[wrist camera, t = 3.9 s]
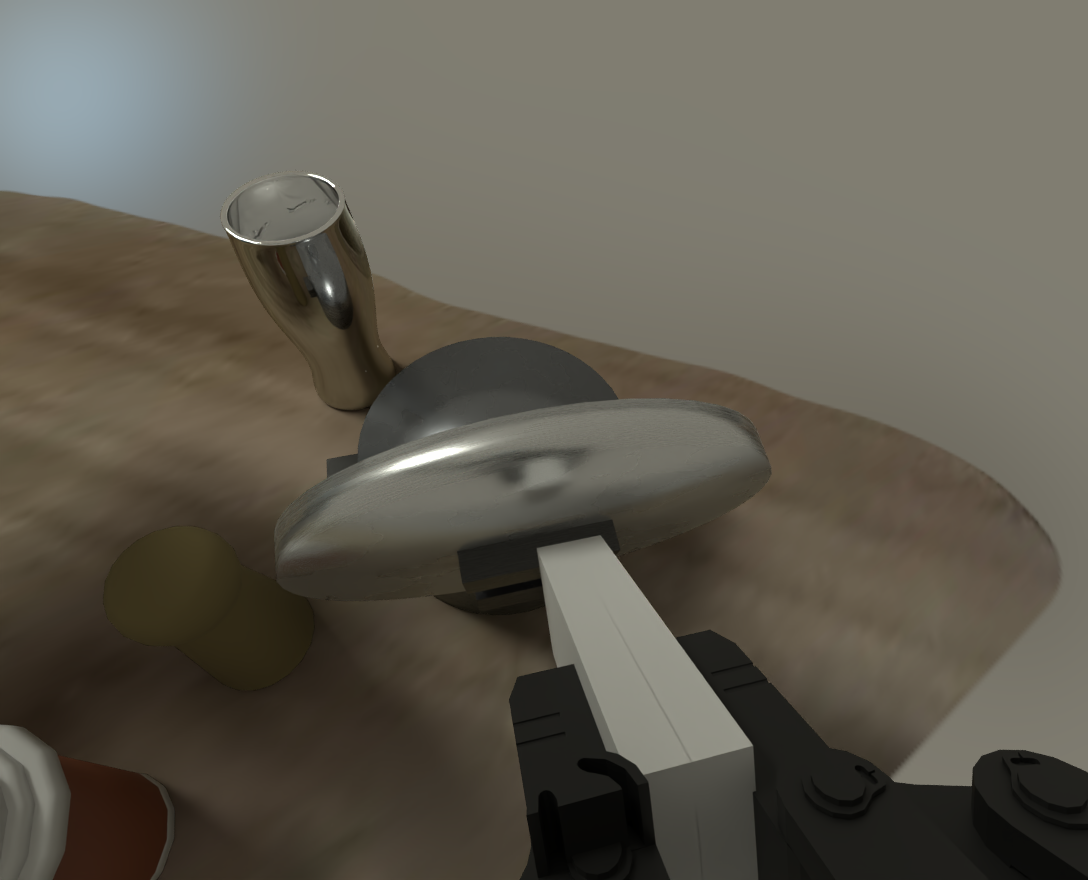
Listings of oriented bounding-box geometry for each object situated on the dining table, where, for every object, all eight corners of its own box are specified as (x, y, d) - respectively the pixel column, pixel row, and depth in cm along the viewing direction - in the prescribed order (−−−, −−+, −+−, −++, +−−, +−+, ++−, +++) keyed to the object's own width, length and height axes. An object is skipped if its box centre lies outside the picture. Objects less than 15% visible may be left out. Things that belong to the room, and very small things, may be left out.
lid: (674, 524, 28) (688, 568, 27) (356, 591, 26) (361, 640, 25) (866, 352, 13) (910, 437, 12) (144, 477, 11) (138, 591, 10)
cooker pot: (679, 594, 34) (715, 545, 27) (365, 665, 32) (320, 631, 25) (606, 392, 43) (620, 316, 36) (353, 435, 40) (317, 363, 33)
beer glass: (300, 415, 41) (197, 245, 28) (320, 344, 45) (237, 167, 32) (395, 416, 41) (334, 247, 28) (407, 345, 45) (358, 169, 32)
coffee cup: (59, 1036, 23) (-299, 1218, 13) (-39, 869, 26) (-394, 916, 16) (242, 828, 27) (73, 848, 17) (139, 703, 30) (-57, 658, 20)
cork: (330, 593, 34) (254, 517, 25) (289, 700, 31) (184, 658, 21) (236, 576, 34) (127, 495, 25) (186, 680, 31) (39, 631, 22)
